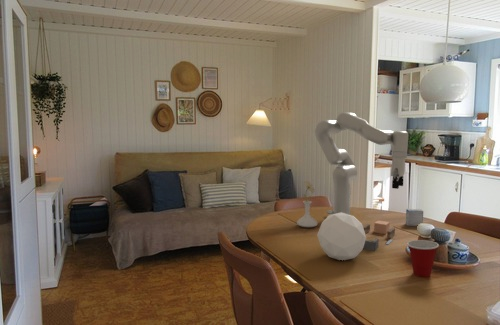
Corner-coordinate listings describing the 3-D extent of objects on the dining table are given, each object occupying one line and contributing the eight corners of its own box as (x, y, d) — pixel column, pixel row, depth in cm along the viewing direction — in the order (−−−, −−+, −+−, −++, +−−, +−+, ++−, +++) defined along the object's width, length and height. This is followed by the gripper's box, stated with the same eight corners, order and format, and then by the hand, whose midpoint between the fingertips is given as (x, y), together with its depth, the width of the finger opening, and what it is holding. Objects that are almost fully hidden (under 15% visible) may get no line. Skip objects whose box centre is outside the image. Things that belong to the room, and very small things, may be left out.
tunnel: (361, 234, 189) (362, 227, 189) (367, 230, 196) (367, 223, 196) (390, 238, 181) (390, 231, 181) (394, 234, 188) (394, 228, 187)
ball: (327, 272, 158) (303, 230, 164) (364, 250, 164) (339, 211, 170) (343, 266, 141) (315, 219, 147) (384, 242, 147) (355, 198, 153)
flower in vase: (319, 229, 198) (319, 182, 196) (297, 229, 199) (298, 182, 196) (315, 222, 211) (316, 179, 209) (295, 222, 212) (295, 179, 209)
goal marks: (352, 238, 183) (352, 237, 183) (357, 234, 189) (357, 233, 189) (388, 244, 173) (388, 244, 173) (392, 240, 179) (392, 239, 179)
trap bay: (347, 246, 171) (348, 237, 171) (352, 242, 176) (352, 234, 175) (374, 251, 164) (374, 242, 164) (378, 247, 169) (378, 238, 169)
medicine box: (420, 224, 208) (420, 208, 207) (423, 226, 203) (423, 210, 202) (405, 223, 208) (406, 208, 207) (408, 226, 204) (408, 210, 203)
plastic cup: (410, 266, 147) (411, 236, 146) (440, 273, 140) (442, 242, 139) (401, 275, 139) (402, 243, 137) (433, 282, 132) (434, 249, 130)
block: (374, 232, 193) (374, 223, 192) (377, 229, 198) (377, 220, 197) (385, 234, 189) (386, 224, 189) (389, 231, 194) (389, 222, 194)
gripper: (395, 153, 204) (394, 184, 206) (387, 155, 190) (385, 188, 192) (410, 154, 200) (408, 185, 202) (403, 156, 185) (401, 190, 187)
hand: (397, 187), depth 197 cm, fingers open, 9 cm apart
